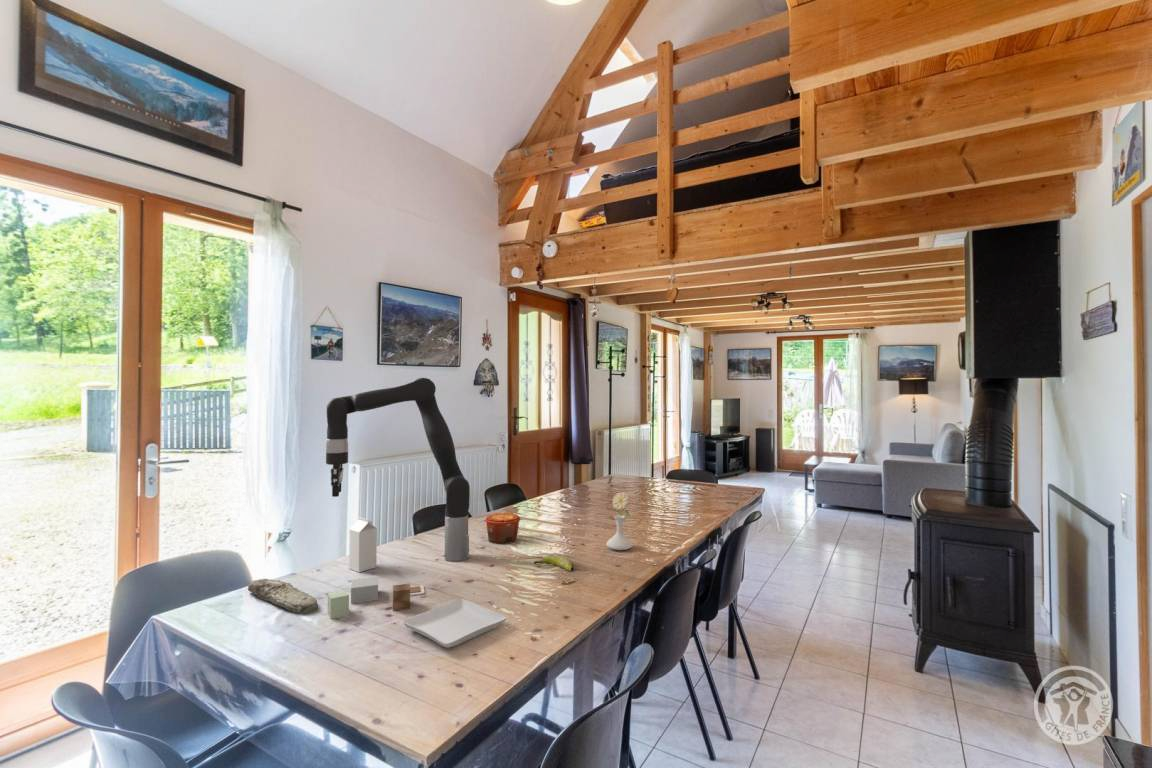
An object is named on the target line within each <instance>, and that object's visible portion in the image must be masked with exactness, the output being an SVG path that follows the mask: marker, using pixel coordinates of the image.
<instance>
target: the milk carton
mask: <svg viewBox="0 0 1152 768" xmlns="http://www.w3.org/2000/svg"><path fill="white" fill-rule="evenodd" d="M357 518H358V519H357V520H356V521H355V523H353V524H352V526H350V528H349V541H348V542H349V547H348V548H349V551H348V553H349V554H348V558H349V559H348V562H349V563H348V568H349V570H352V571H355V572H357V573H361V572H364V571H368V570H371V569H375V568H377V552H378V551H377V549H378V548H377V542H378V540H377V539H378V538H377V536H378V534H377V533H378V528H377V527H376V526H374V525H373V522H372V520H369V519H368V518H366V517H360V516H358V517H357Z"/></svg>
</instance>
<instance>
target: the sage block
mask: <svg viewBox="0 0 1152 768" xmlns="http://www.w3.org/2000/svg"><path fill="white" fill-rule="evenodd" d="M349 613H350V594H349V592H348V591H347V589H342V590H338V591H332V592H331V591H330V592H328V593H327V615H328V617H329V619H330V620H333V619H336V618H341V617H345V616H349V615H350V614H349Z"/></svg>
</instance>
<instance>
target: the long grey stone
mask: <svg viewBox="0 0 1152 768" xmlns="http://www.w3.org/2000/svg"><path fill="white" fill-rule="evenodd" d="M247 586H248V587H247V590H248V592H250V593H252V594H253V596H255V597H257V599H258V600H261V601H262V600H264V601H266V602H268V603H271V604H274V605H275V606H279V607H281V608H283V609H285V610H286V611H289V612H291V611H292V612H293V613H297V614H308V613H311V612H314V611H316V610H317V609H318V601H317V598H315V597H314V596H312V595H309V593H307V592H304V591H302V590H300V589H298V588H296V587H294V586H293V585H292V584H291V583H290V582H286V581H282V580H281V579H277V580H276V579H272V578H271V579H269V578H261V579H260V578H259V579H255V580H252V581H251V582H250V583H248V584H247ZM292 612H291V613H292Z"/></svg>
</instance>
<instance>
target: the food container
mask: <svg viewBox="0 0 1152 768" xmlns="http://www.w3.org/2000/svg"><path fill="white" fill-rule="evenodd" d="M484 521H485V523H486V531H487V540H488V542H489V543H492V544H495V543H496V545H505V544H506V543H508V544H512V543H511V542H513V543H515V542H516V541H517V539H518V531H519V525H520V521H521V517H520V516H519V515H518V514H516V513H511V512H504V513H500V512H499V513H493V514H490V515H487V516H486V518H485V520H484ZM514 541H515V542H514Z"/></svg>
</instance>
